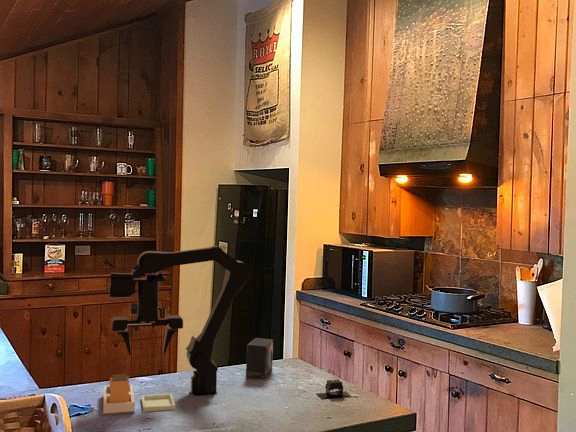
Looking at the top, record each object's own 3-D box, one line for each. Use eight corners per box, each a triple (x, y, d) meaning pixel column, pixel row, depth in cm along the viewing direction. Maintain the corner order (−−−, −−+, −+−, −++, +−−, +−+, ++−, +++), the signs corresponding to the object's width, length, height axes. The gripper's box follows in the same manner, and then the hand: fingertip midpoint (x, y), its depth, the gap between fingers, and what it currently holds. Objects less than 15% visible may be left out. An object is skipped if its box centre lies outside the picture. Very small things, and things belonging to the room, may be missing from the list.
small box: (265, 379, 187) (266, 345, 187) (245, 378, 188) (245, 344, 188) (273, 370, 197) (274, 338, 197) (253, 369, 199) (254, 337, 199)
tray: (171, 399, 166) (171, 393, 166) (175, 411, 157) (175, 405, 157) (141, 401, 164) (141, 395, 164) (143, 413, 154) (143, 407, 154)
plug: (128, 409, 154) (129, 378, 154) (109, 410, 152) (110, 379, 152) (127, 403, 158) (128, 373, 158) (109, 405, 157) (110, 374, 157)
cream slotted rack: (132, 396, 168) (132, 374, 168) (134, 415, 153) (134, 391, 153) (103, 398, 166) (104, 375, 166) (103, 418, 151) (103, 393, 150)
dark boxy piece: (349, 392, 178) (350, 376, 178) (359, 399, 171) (360, 383, 171) (309, 394, 175) (309, 379, 174) (317, 403, 168) (318, 386, 167)
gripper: (179, 292, 177) (178, 346, 177) (112, 293, 172) (111, 349, 172) (183, 298, 166) (182, 355, 167) (112, 300, 161) (111, 358, 161)
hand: (147, 354), depth 167 cm, fingers open, 9 cm apart
